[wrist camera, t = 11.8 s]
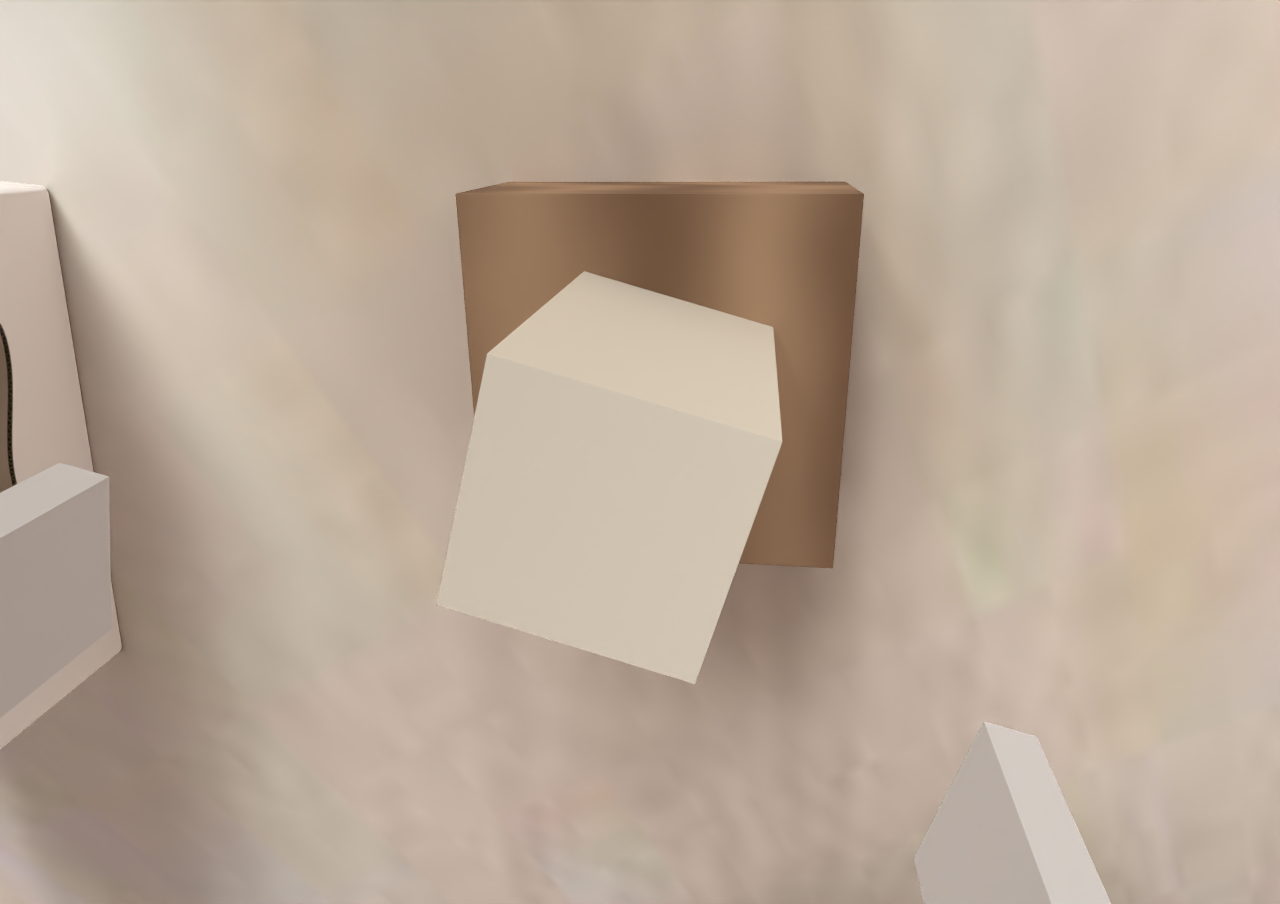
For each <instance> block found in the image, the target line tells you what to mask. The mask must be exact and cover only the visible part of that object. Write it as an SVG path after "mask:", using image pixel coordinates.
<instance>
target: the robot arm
mask: <svg viewBox="0 0 1280 904" xmlns="http://www.w3.org/2000/svg"><path fill="white" fill-rule="evenodd" d="M111 629H112V619H111V558H110V497H109V476H106V475H102V474H98V473H95V472H91V471H88V470H84V469H81V468H77V467H73V466H70V465H66V464H63V463H58V464H56V465H54V466H52V467H50V468H48V469H46V470H44V471H42V472H40V473H38V474H36V475H34V476H32V477H30V478H28V479H26V480H24V481H22V482H20V483H18V484H16V485H15V486H13V487H11V488H9V489H7V490H5V491H3V492H1V493H0V718H1V717H2V716H4V715H5V714H6V713H7V712H9V711H10V710H11V709H12V708H14V707H15V706H16V705H17V704H19V703H20V702H21V701H22V700H24V699H25V698H26V697H27V696H29V695H30V694H31V693H32V692H33V691H35V690H36V689H37V688H38V687H40V686H41V685H42V684H43V683H45V682H46V681H47V680H48V679H50V678H51V677H52V676H53V675H55V674H56V673H57V672H58V671H60V670H61V669H62V668H63V667H65V666H66V665H67V664H68V663H70V662H71V661H72V660H73V659H75V658H76V657H77V656H78V655H79V654H81V653H82V652H83V651H84V650H86V649H87V648H88V647H89V646H91V645H92V644H93V643H94V642H96V641H97V640H98V639H99V638H101V637H102V636H103V635H104V634H106V633H107V632H108V631H109V630H111ZM914 860H915V865H916V869H917V874H918V879H919V884H920V889H921V893H922V898H923V903H924V904H1111V902H1110V900H1109V898H1108V895H1107V893H1106V891H1105V889H1104V886H1103V884H1102V882H1101V880H1100V877H1099V875H1098V873H1097V871H1096V868H1095V866H1094V864H1093V862H1092V859H1091V857H1090V855H1089V853H1088V850H1087V848H1086V846H1085V844H1084V841H1083V839H1082V837H1081V835H1080V832H1079V830H1078V828H1077V826H1076V824H1075V821H1074V819H1073V817H1072V815H1071V812H1070V810H1069V808H1068V806H1067V803H1066V801H1065V799H1064V797H1063V794H1062V792H1061V790H1060V788H1059V785H1058V783H1057V781H1056V779H1055V776H1054V774H1053V772H1052V770H1051V767H1050V765H1049V763H1048V761H1047V758H1046V756H1045V754H1044V752H1043V750H1042V747H1041V745H1040V743H1039V741H1038V738H1037V736H1034V735H1031V734H1027V733H1024V732H1020V731H1017V730H1013V729H1009V728H1006V727H1002V726H999V725H995V724H992V723H988V722H983V724H982V726H981V728H980V730H979V732H978V734H977V736H976V738H975V740H974V742H973V743H972V745H971V747H970V749H969V751H968V753H967V755H966V757H965V759H964V761H963V763H962V765H961V767H960V769H959V771H958V773H957V775H956V776H955V778H954V780H953V782H952V784H951V786H950V788H949V790H948V792H947V794H946V796H945V798H944V800H943V802H942V804H941V806H940V808H939V809H938V811H937V813H936V815H935V817H934V819H933V821H932V823H931V825H930V827H929V829H928V831H927V833H926V835H925V837H924V839H923V841H922V842H921V844H920V846H919V848H918V850H917V852H916V854H915V856H914Z"/></svg>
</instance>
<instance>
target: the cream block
mask: <svg viewBox="0 0 1280 904" xmlns="http://www.w3.org/2000/svg"><path fill="white" fill-rule="evenodd" d="M781 444H782V430H781V418H780V405H779V393H778V380H777V367H776V355H775V342H774V330H773V327H771V326H768V325H765V324H761V323H758V322H754V321H751V320H748V319H744V318H741V317H738V316H734V315H731V314H727V313H724V312H721V311H717V310H714V309H710V308H707V307H704V306H700V305H697V304H694V303H690V302H687V301H683V300H680V299H677V298H673V297H670V296H667V295H663V294H660V293H656V292H653V291H650V290H646V289H643V288H639V287H636V286H633V285H629V284H626V283H623V282H619V281H616V280H612V279H609V278H606V277H602V276H599V275H595V274H592V273H589V272H585V271H584V272H583V273H581V274H580V275H579V276H578V277H577V278H575V279H574V280H573V281H572V282H571V283H570V284H568V285H567V286H566V287H565V288H564V289H563V290H561V291H560V292H559V293H558V294H557V295H555V296H554V297H553V298H552V299H551V300H550V301H548V302H547V303H546V304H545V305H544V306H543V307H541V308H540V309H539V310H538V311H537V312H535V313H534V314H533V315H532V316H531V317H530V318H528V319H527V320H526V321H525V322H524V323H523V324H521V325H520V326H519V327H518V328H517V329H515V330H514V331H513V332H512V333H511V334H510V335H508V336H507V337H506V338H505V339H504V340H503V341H501V342H500V343H499V344H498V345H497V346H495V347H494V348H493V349H492V350H491V351H490V352H488V353H487V357H486V362H485V367H484V371H483V376H482V381H481V386H480V391H479V396H478V401H477V406H476V411H475V416H474V421H473V426H472V431H471V436H470V441H469V446H468V450H467V455H466V460H465V465H464V470H463V475H462V480H461V485H460V490H459V495H458V500H457V505H456V510H455V515H454V520H453V524H452V529H451V534H450V539H449V544H448V549H447V554H446V559H445V564H444V569H443V574H442V579H441V584H440V589H439V594H438V598H437V603H436V605H437V606H441V607H444V608H447V609H450V610H454V611H457V612H460V613H463V614H467V615H470V616H473V617H477V618H480V619H483V620H486V621H490V622H493V623H496V624H499V625H503V626H506V627H509V628H513V629H516V630H519V631H522V632H526V633H529V634H532V635H535V636H539V637H542V638H545V639H548V640H552V641H555V642H558V643H562V644H565V645H568V646H571V647H575V648H578V649H581V650H584V651H588V652H591V653H594V654H598V655H601V656H604V657H607V658H611V659H614V660H617V661H620V662H624V663H627V664H630V665H634V666H637V667H640V668H643V669H647V670H650V671H653V672H656V673H660V674H663V675H666V676H670V677H673V678H676V679H679V680H683V681H686V682H689V683H692V684H695V683H696V680H697V677H698V674H699V671H700V669H701V666H702V663H703V660H704V658H705V655H706V652H707V649H708V647H709V644H710V641H711V638H712V635H713V633H714V630H715V627H716V624H717V622H718V619H719V616H720V613H721V611H722V608H723V605H724V602H725V599H726V597H727V594H728V591H729V588H730V586H731V583H732V580H733V577H734V575H735V572H736V569H737V566H738V563H739V561H740V558H741V555H742V552H743V550H744V547H745V544H746V541H747V539H748V536H749V533H750V530H751V527H752V525H753V522H754V519H755V516H756V514H757V511H758V508H759V505H760V503H761V500H762V497H763V494H764V491H765V489H766V486H767V483H768V480H769V478H770V475H771V472H772V469H773V467H774V464H775V461H776V458H777V455H778V453H779V450H780V447H781Z"/></svg>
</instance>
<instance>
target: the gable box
mask: <svg viewBox="0 0 1280 904" xmlns="http://www.w3.org/2000/svg"><path fill="white" fill-rule="evenodd" d="M58 463H63V464H66V465H70V466H73V467H77V468H81V469H84V470H88V471H91V472H94V471H93V465H92V459H91V452H90V446H89V440H88V434H87V428H86V421H85V415H84V409H83V403H82V397H81V390H80V384H79V378H78V372H77V366H76V359H75V353H74V347H73V341H72V335H71V328H70V322H69V316H68V310H67V304H66V297H65V291H64V285H63V279H62V273H61V266H60V260H59V254H58V248H57V242H56V235H55V229H54V223H53V217H52V211H51V204H50V198H49V192H48V191H47V190H46V189H45V188H44V187H43V186H40V185H32V184H23V183H14V182H6V181H0V493H1V492H3V491H5V490H7V489H9V488H11V487H13V486H15V485H16V484H18V483H20V482H22V481H24V480H26V479H28V478H30V477H32V476H34V475H36V474H38V473H40V472H42V471H44V470H46V469H48V468H50V467H52V466H54V465H56V464H58ZM111 619H112V629H111V630H109V631H108V632H107V633H106V634H104V635H103V636H102V637H101V638H99V639H98V640H97V641H96V642H94V643H93V644H92V645H91V646H89V647H88V648H87V649H86V650H84V651H83V652H82V653H81V654H79V655H78V656H77V657H76V658H75V659H73V660H72V661H71V662H70V663H68V664H67V665H66V666H65V667H63V668H62V669H61V670H60V671H58V672H57V673H56V674H55V675H53V676H52V677H51V678H50V679H48V680H47V681H46V682H45V683H43V684H42V685H41V686H40V687H38V688H37V689H36V690H35V691H33V692H32V693H31V694H30V695H29V696H27V697H26V698H25V699H24V700H22V701H21V702H20V703H19V704H17V705H16V706H15V707H14V708H12V709H11V710H10V711H9V712H7V713H6V714H5V715H4V716H2V717H1V718H0V749H2V748H3V747H4V746H5V745H6V744H8V743H9V742H10V741H11V740H13V739H14V738H15V737H16V736H17V735H19V734H20V733H21V732H22V731H24V730H25V729H26V728H27V727H28V726H30V725H31V724H32V723H33V722H35V721H36V720H37V719H38V718H39V717H41V716H42V715H43V714H44V713H45V712H47V711H48V710H49V709H50V708H52V707H53V706H54V705H55V704H56V703H58V702H59V701H60V700H61V699H63V698H64V697H65V696H66V695H67V694H69V693H70V692H71V691H72V690H73V689H75V688H76V687H77V686H78V685H80V684H81V683H82V682H83V681H84V680H86V679H87V678H88V677H89V676H91V675H92V674H93V673H94V672H95V671H97V670H98V669H99V668H100V667H101V666H103V665H104V664H105V663H106V662H108V661H109V660H110V659H111V658H112V657H114V656H115V655H116V654H117V653H118V652H120V650H121V648H122V645H121V638H120V632H119V626H118V620H117V614H116V607H115V601H114V595H113V589H112V583H111Z"/></svg>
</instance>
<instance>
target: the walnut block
mask: <svg viewBox="0 0 1280 904" xmlns="http://www.w3.org/2000/svg"><path fill="white" fill-rule="evenodd" d="M863 198H864V194H863V193H861V192H860V191H858V190H857V189H855V188H854V187H852V186H851V185H849V184H848V183H846V182H507V183H502V184H498V185H493V186H489V187H484V188H480V189H475V190H471V191H466V192H462V193H457V194H456V203H457V215H458V227H459V239H460V251H461V263H462V275H463V287H464V299H465V311H466V323H467V335H468V347H469V359H470V371H471V382H472V394H473V406H474V416H475V411H476V406H477V401H478V396H479V391H480V386H481V381H482V376H483V371H484V367H485V362H486V357H487V353H488V352H490V351H491V350H492V349H493V348H494V347H495V346H497V345H498V344H499V343H500V342H501V341H503V340H504V339H505V338H506V337H507V336H508V335H510V334H511V333H512V332H513V331H514V330H515V329H517V328H518V327H519V326H520V325H521V324H523V323H524V322H525V321H526V320H527V319H528V318H530V317H531V316H532V315H533V314H534V313H535V312H537V311H538V310H539V309H540V308H541V307H543V306H544V305H545V304H546V303H547V302H548V301H550V300H551V299H552V298H553V297H554V296H555V295H557V294H558V293H559V292H560V291H561V290H563V289H564V288H565V287H566V286H567V285H568V284H570V283H571V282H572V281H573V280H574V279H575V278H577V277H578V276H579V275H580V274H581V273H583V272H584V271H585V272H589V273H592V274H595V275H599V276H602V277H606V278H609V279H612V280H616V281H619V282H623V283H626V284H629V285H633V286H636V287H639V288H643V289H646V290H650V291H653V292H656V293H660V294H663V295H667V296H670V297H673V298H677V299H680V300H683V301H687V302H690V303H694V304H697V305H700V306H704V307H707V308H710V309H714V310H717V311H721V312H724V313H727V314H731V315H734V316H738V317H741V318H744V319H748V320H751V321H754V322H758V323H761V324H765V325H768V326H771V327H773V330H774V342H775V355H776V367H777V380H778V393H779V405H780V418H781V430H782V444H781V447H780V450H779V453H778V455H777V458H776V461H775V464H774V467H773V469H772V472H771V475H770V478H769V480H768V483H767V486H766V489H765V491H764V494H763V497H762V500H761V503H760V505H759V508H758V511H757V514H756V516H755V519H754V522H753V525H752V527H751V530H750V533H749V536H748V539H747V541H746V544H745V547H744V550H743V552H742V555H741V558H740V561H739V563H747V564H765V565H783V566H801V567H819V568H833V560H834V548H835V536H836V524H837V512H838V500H839V488H840V475H841V463H842V451H843V439H844V427H845V415H846V403H847V391H848V379H849V367H850V355H851V343H852V331H853V319H854V306H855V294H856V282H857V270H858V258H859V246H860V234H861V222H862V210H863Z"/></svg>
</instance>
